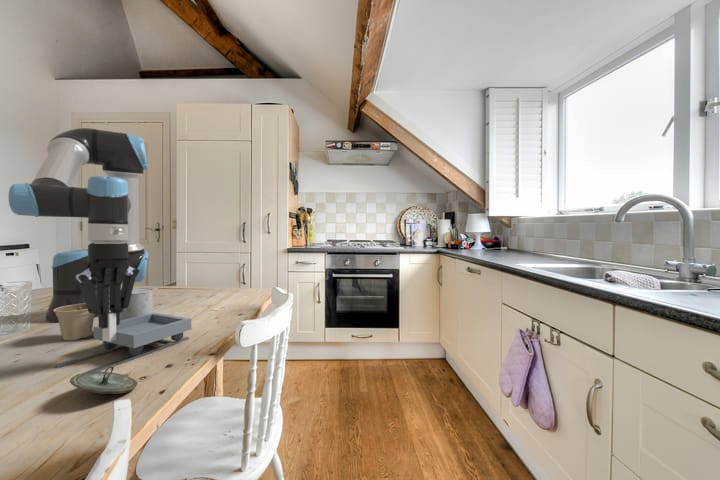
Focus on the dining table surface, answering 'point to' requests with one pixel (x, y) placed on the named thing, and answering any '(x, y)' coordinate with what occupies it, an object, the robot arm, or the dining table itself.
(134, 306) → the grey canister
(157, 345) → the track
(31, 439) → the dining table surface
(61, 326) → the flower pot
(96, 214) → the robot arm
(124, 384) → the lid
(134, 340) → the cart
